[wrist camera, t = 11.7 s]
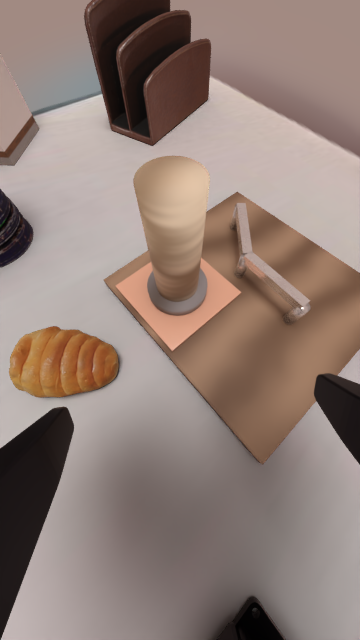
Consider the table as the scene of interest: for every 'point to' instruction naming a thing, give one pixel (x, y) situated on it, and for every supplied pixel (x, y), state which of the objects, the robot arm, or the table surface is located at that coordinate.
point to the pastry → (61, 363)
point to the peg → (174, 230)
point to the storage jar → (12, 232)
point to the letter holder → (147, 65)
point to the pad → (182, 326)
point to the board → (264, 328)
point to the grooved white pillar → (13, 119)
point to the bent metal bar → (265, 268)
